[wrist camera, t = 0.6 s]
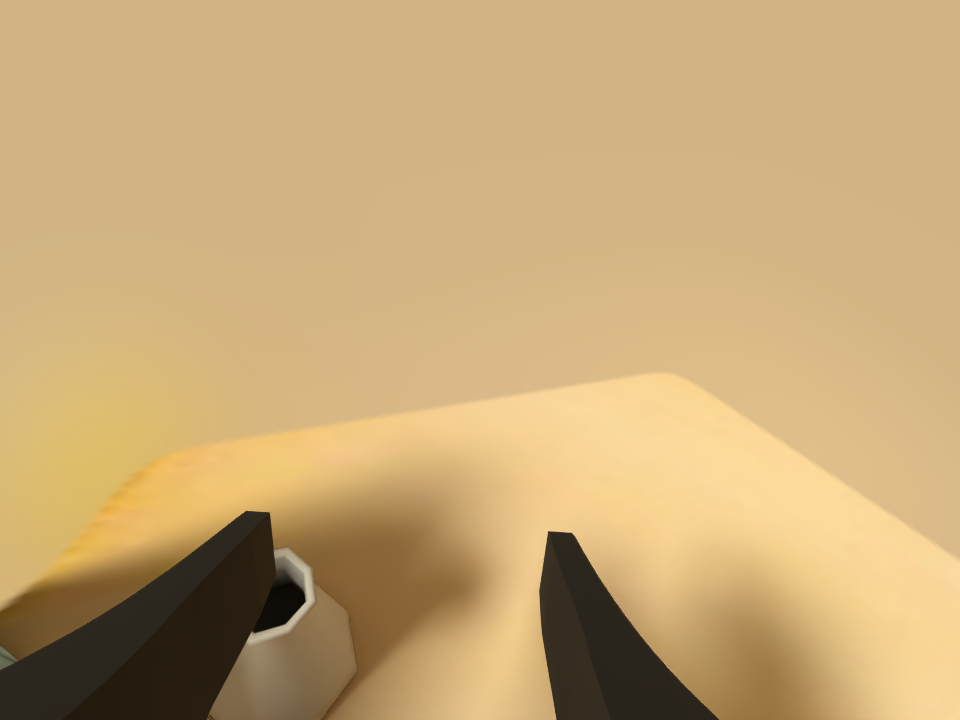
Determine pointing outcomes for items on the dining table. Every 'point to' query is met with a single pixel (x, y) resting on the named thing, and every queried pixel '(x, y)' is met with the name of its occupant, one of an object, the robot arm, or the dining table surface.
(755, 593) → the dining table surface
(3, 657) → the gum box
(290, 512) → the dining table surface
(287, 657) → the flask
